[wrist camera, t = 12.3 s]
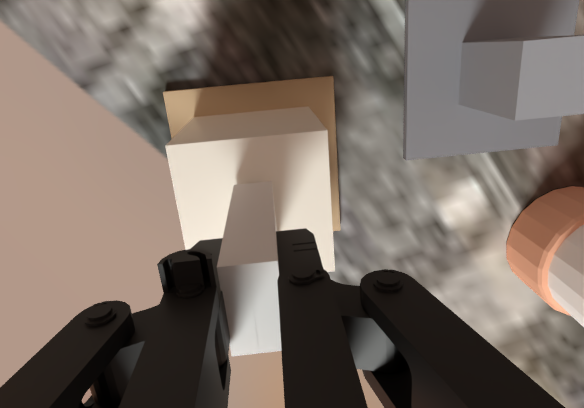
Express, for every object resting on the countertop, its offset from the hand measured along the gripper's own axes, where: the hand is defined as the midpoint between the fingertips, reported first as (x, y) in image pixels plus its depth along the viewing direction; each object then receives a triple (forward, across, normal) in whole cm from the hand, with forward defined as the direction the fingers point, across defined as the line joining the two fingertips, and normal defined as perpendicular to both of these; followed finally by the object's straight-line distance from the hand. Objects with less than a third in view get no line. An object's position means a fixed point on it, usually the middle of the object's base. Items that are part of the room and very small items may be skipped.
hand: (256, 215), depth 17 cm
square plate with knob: (+8, +13, +4) cm, 16 cm away
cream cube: (+7, 0, 0) cm, 7 cm away
